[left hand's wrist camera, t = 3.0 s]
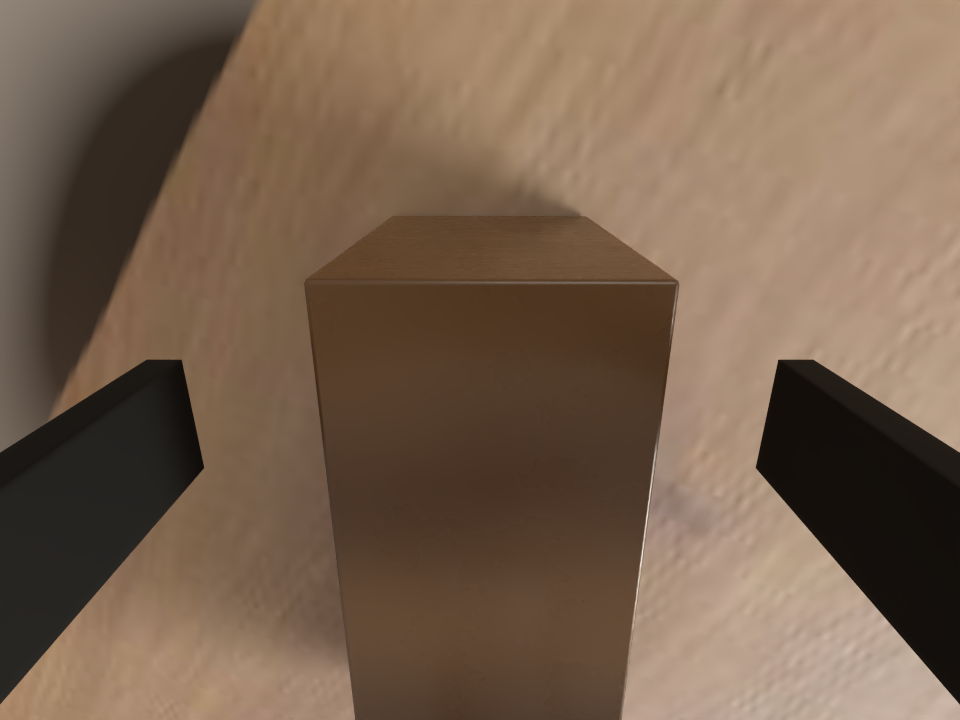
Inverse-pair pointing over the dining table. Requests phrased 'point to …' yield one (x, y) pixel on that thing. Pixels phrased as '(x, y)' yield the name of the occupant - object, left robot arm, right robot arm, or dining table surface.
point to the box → (490, 460)
